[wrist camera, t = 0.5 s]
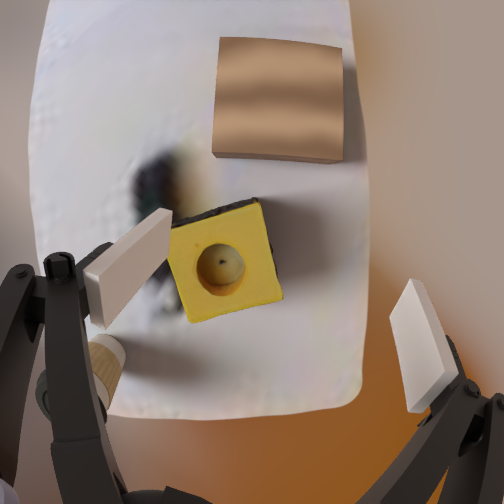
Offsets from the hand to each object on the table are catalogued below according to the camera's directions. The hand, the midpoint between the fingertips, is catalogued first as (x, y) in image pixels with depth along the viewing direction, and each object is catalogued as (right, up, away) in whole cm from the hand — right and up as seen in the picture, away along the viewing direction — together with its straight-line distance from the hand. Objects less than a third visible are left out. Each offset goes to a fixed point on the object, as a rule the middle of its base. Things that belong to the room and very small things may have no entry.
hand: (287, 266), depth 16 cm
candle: (-5, +1, +23) cm, 24 cm away
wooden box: (+1, +19, +20) cm, 27 cm away
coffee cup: (-24, -14, +25) cm, 38 cm away
